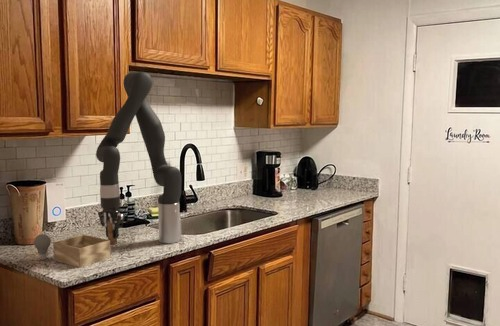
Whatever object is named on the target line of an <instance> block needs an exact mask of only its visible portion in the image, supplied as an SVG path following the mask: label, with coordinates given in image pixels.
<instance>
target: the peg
mask: <svg viewBox="0 0 500 326" xmlns="http://www.w3.org/2000/svg"><path fill="white" fill-rule="evenodd" d="M115 221H116V220H115ZM113 222H114V221H113ZM115 226H116V223H115ZM107 228H108V237H107V240H110V246H115V245H116V246H117V245H118V238H116V239H114V238H113V228H112V224H111V223H110V220H107Z"/></svg>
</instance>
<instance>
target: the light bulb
mask: <svg viewBox="0 0 500 326" xmlns="http://www.w3.org/2000/svg"><path fill="white" fill-rule="evenodd" d="M51 241H52V240H51V238H50V236H49V235H48V234H45V233H41V234H38V235H36V237H35V238H34V240H33V245H34V247H35V249H36V250H37V253H38V257H39V260H41V261H44V260H46V259H47V256H48V255H47V253H48V249H49V247H50V245H51V243H52V242H51Z"/></svg>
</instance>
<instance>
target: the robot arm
mask: <svg viewBox="0 0 500 326" xmlns="http://www.w3.org/2000/svg"><path fill="white" fill-rule="evenodd" d="M123 78H124V79H123V83H122V84H123V87H124V91H125V92H126V93H125V94H126V95H127V99H126V100H125V102H124V104H123V105H122V106H121V108H120V109H118V111H117V112H116V114H115V115H114V116H113V119H112V120H111V123H110V126H109V128H108V130H107V133H106V134H105V135H104V137H103V138H102V140H101V141H100V142H99V144H98V146H97V148H96V151H95V157H96V159H97V160H98V162H100V163H103V167H102V169H101V170H100V172H99V184H100V185H99V186H100V187H99V194H100V195H99V197H100V208H102V210H101V211H98V212H97V216H98V218H99V221H100V225H101V227H104V229H105V236H106V238H108V228H107V220H110V223H111V224H112V228H113V238H114V239H116V238H117V239H118V238H119V235H120V234H119V229H121V228H123V226H124V225H123V224H124V221H125V217H126V216H125V213H124V214H122V213H120V209H119V208H120V207H121V193H120V192H121V191H120V184H119V183H120V182H119V169H120V165H121V154H120V151H119V149H118V148H117V147H118V145H119V144H121V143H123V142H124V140H125V138H126V136H127V134H128V131H129V129H130V127H131V125H132V122H133V120H134V118H136V121H137V123H138V127H139V129H140V131H139V132H140V134H141V138H142V140H143V142H144V145H145V149H146V152H147V155H148V157H149V161H150V165H151V170H152V175H153V179H154V181H155V183H156V184H157V185H158V186H160V187H163V191H162V194H161V195H159V196H157V203H158V204H157V205H158V206H157V208H158V209H157V210H158V211H157V213H158V214H157V215H158V218H157V219H158V242H159V243H162V244H176V243H178V242H180V241H182V218H181V217H180V200H181V199H180V198H181V195H182V173H181V170H180V169H179V168H178V167H175V166H171V165H168V163H167V159H166V156H165V144H166V135H165V131H164V128H163V125H162V122H161V120H160V118H159V117H158V115H157V113H156V112H155V111H154V110H153V108H152V107H151V105H150V104H149V101H148V98H147V96H148V95H149V93H150V91H151V90H152V88H153V78H152V76H151V75H150V74H149V73H147V72H146V71H133V72H129V73H127V74H126V75H125V76H124V77H123ZM115 220H116V221H115ZM113 221H114V222H113ZM115 223H116V226H115Z"/></svg>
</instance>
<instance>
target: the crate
mask: <svg viewBox="0 0 500 326" xmlns="http://www.w3.org/2000/svg"><path fill="white" fill-rule="evenodd" d="M52 244H53V245H52V247H53V260H54V261H56V262H60V263H64V264H67V265H69V266H70V265H71V266H73V267H78V268H83V267H87V266H90V265H92V263H93V264H95V263H99V262H103V261H105V259H106V260H109V259H111V257H112V256H111V252H112V251H111V245H110V240H108V239H107V238H106V239H105V238H100V237H97V236H92V235H87V234H80V235H78V236H77V235H76V236H73V237H69V238H65V239H60V240H57V241H53V242H52ZM108 258H109V259H108Z"/></svg>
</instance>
